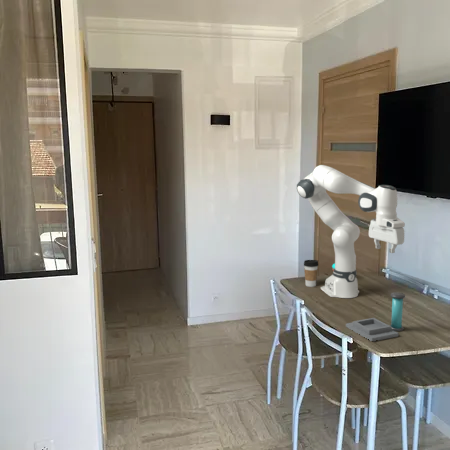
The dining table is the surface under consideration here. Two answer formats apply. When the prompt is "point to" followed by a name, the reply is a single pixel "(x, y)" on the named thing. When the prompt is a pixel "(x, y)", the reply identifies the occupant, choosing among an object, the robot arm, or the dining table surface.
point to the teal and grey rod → (397, 311)
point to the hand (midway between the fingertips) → (384, 250)
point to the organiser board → (372, 329)
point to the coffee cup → (310, 272)
